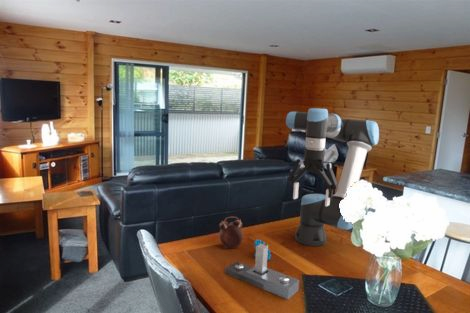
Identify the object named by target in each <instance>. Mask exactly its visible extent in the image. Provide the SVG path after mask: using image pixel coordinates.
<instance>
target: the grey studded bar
mask: <svg viewBox="0 0 470 313" xmlns="http://www.w3.org/2000/svg"><path fill="white" fill-rule="evenodd" d="M224 274H227V275H229V276H231V277H233V278H235V279H238V280H240V281H243V282H245V283H248V284H249V285H253V286H255V287H256V288H259V289H262V290H264V291H266V292H269V293H270V294H271V293H272V294H274V295H276V296H278V297H280V298H283V299H286V300H290V298H291V297H292V296H294V295H295V294H296V293H298V291H299V288H300V286H299V285H300V279H297V278H295V277H292V276H290V275H287V274H284V273H282V272H279V271H276V270H274V269H271V268H269V267H267V273H266V274H264V275H263V276H262V275H260V274H257V273H255V265H254V266H251V265H249V264H246V263H243V262H240V261H238V260H237V261H236V262H233V263H231V264H230V265H229V266H227V267H225V268H224Z"/></svg>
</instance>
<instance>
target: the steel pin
mask: <svg viewBox="0 0 470 313" xmlns="http://www.w3.org/2000/svg"><path fill="white" fill-rule="evenodd" d="M266 245H267V244H264V245H263V244H262V243H261V244H260V245H258V246H256V245H255V246H256V249H255V253H256V256H255V260H254V261H255V262H254V266H255V273H257V274H260V275H262V276H263V275H264V274H266V273H267V268H268V260H267V256H268V250H269V245H268V246H266Z"/></svg>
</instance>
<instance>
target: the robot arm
mask: <svg viewBox="0 0 470 313" xmlns="http://www.w3.org/2000/svg"><path fill="white" fill-rule="evenodd" d="M285 124H286V126H287V128H289V129H290V130H291V129H292V130H297V131H298V130H299V131H305V134H306V135H305V143H304V148H305V149H304V158H303V159H302V158H297V159H296V162H295V165H294V166H293V169H292V170H291V173H290V174H289V176H288V177H287V180H288V181H290V182H291V190H292V191H293V193H292V199H293V200H297V199H298V198H299V187H300V183H299V182H298V181H299V180H300V179H301V178H302V177H303V176H304V175H305V174H306V173H307V172H308V173H313V174H318V176H319V177H320V178H321V180H322V182H323V183H324V184H325V186H326V188H327V189H326V190H325V194H322V193H308V194H305V195H302V197H301V203H300V214H299V216H300V217H299V224H298V227H297V230H296V232H295V234H294V235H295V236H294V238H295V241H296V242H297V243H300V244H302V245H305V246H311V247H321V246H323V245H326V243H327V234H326V229H325V225H327V226H331V227H335V228H338V229H341V230H345V231H346V230H351V229H352V228H353V227H354V226H353V225H352V223H348V222H345V221H344V220H343V217H342V215H341V213H340V209H339V203H340V201H341V200H342V199H343V198H344V197H345V196H346V189H347V188H348V187H350V186H352V184H353V183H354V182H356V181H358V180H359V181H360V180H361V176H362V172H363V169H364V165H365V161H366V158H367V155H368V154H367V153H368V152H370V151H372V148H373V147H374V146H376V145H378V143H379V139H380V129H379V125H378V123H377V122H376V121H374V120H368V119H365V120H364V119H350V118H341V117H340V116H339V115H338V114H336V113H333V112H331V113H330V112H329V110H328V109H327V108H316V107H315V108H313V107H311V108H308V110H307V112H306V111H290V112H288V113H287V115H286V118H285ZM326 138H330V139H332V140H336V141H338V142H339V141H340V142H342V143H346V145H347V147H348V151H347V152H346V156H345V161H344V164H343V167H342V171H341V175H340V178H339V182H338V181H337V178H336V176H335V173H334V170H333V164H332V162H329V163H328V162H327V163H325V153H326V152H325V148H326ZM302 165H303V166H304V167H303V168H302V169H301V170H300V168H301V166H302ZM323 168H325V169H326V172H327V174H326V172H325V170H324V169H323ZM299 170H300V172H299ZM297 173H298V174H297ZM327 175H328V176H327ZM334 190H336V192H335V194H334Z"/></svg>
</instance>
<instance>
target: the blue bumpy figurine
mask: <svg viewBox="0 0 470 313" xmlns="http://www.w3.org/2000/svg"><path fill="white" fill-rule="evenodd" d="M253 244H254V245H255V246H254V249H255V250H256V246H258V245H260V244H263V245H266V246H268V247H269V244H266V242H264V241H262V240H261V239H255V240H254V242H253ZM253 256H254V257H256V252H255V253H254V254H253ZM271 257H272V255H271V250H269V249H268V256H267V261H269V260H271Z"/></svg>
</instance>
